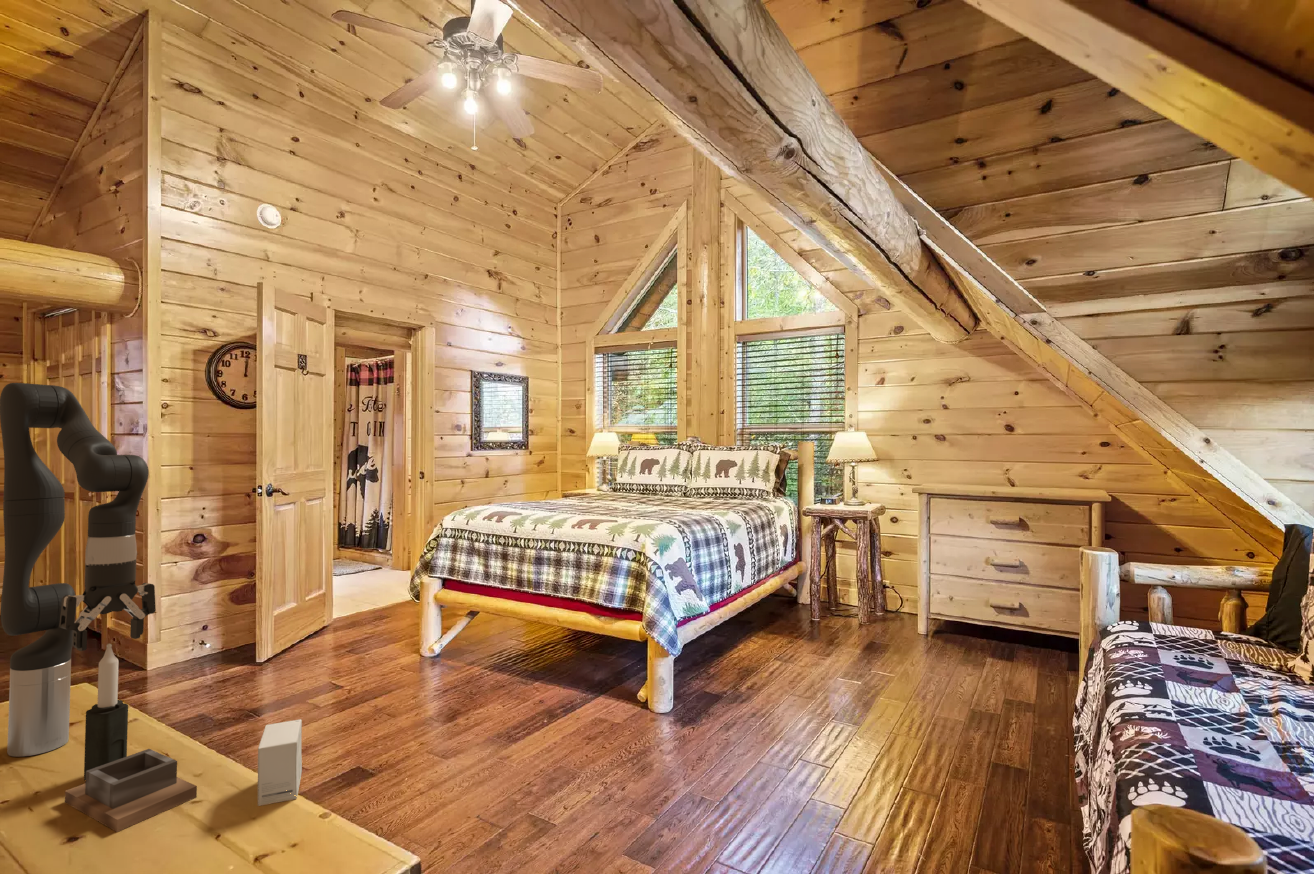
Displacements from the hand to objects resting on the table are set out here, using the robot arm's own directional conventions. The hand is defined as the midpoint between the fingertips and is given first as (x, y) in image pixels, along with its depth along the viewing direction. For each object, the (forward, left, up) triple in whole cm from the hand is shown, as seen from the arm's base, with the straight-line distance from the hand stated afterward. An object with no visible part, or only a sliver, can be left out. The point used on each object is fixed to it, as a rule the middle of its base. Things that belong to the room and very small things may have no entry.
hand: (109, 643), depth 124 cm
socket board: (+14, -2, -25) cm, 29 cm away
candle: (0, 0, -25) cm, 25 cm away
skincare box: (+33, +13, -25) cm, 44 cm away
